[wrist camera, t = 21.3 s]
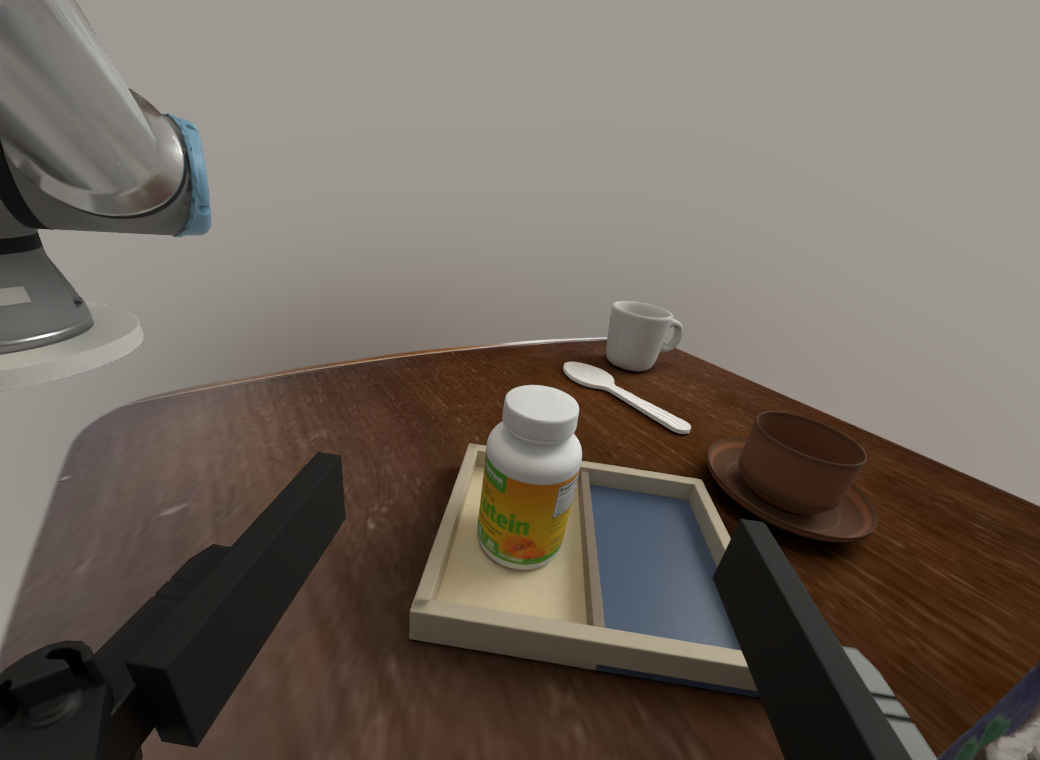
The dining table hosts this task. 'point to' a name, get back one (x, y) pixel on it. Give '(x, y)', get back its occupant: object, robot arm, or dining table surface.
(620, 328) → the cup
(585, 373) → the spoon
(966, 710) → the dining table surface
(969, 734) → the flask
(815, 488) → the cup and saucer
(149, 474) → the dining table surface
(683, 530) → the sorting tray
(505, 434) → the supplement bottle
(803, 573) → the dining table surface
